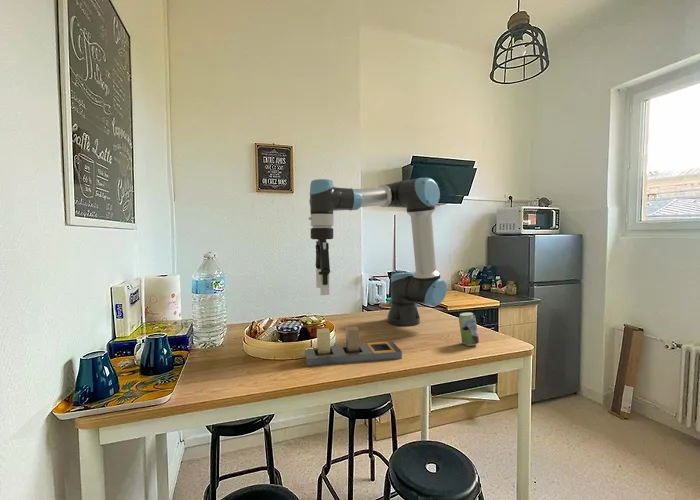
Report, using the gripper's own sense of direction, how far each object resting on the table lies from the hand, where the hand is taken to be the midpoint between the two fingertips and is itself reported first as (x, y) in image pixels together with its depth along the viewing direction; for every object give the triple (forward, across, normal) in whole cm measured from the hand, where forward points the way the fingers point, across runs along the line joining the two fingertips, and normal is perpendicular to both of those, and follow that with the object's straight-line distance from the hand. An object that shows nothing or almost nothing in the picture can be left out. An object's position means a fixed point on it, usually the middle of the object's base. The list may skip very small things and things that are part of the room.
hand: (322, 291), depth 116 cm
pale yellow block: (+23, 0, 0) cm, 23 cm away
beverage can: (+23, -3, +56) cm, 60 cm away
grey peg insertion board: (+23, 0, +10) cm, 25 cm away
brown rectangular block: (+23, 0, +10) cm, 25 cm away
